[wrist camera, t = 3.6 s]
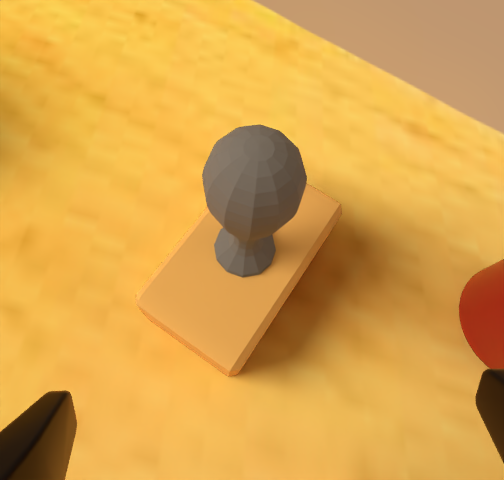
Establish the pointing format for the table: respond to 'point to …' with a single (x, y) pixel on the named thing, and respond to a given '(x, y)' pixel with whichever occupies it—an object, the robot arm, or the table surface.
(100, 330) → the table surface
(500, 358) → the red cup
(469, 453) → the table surface
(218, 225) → the rubber stamp
